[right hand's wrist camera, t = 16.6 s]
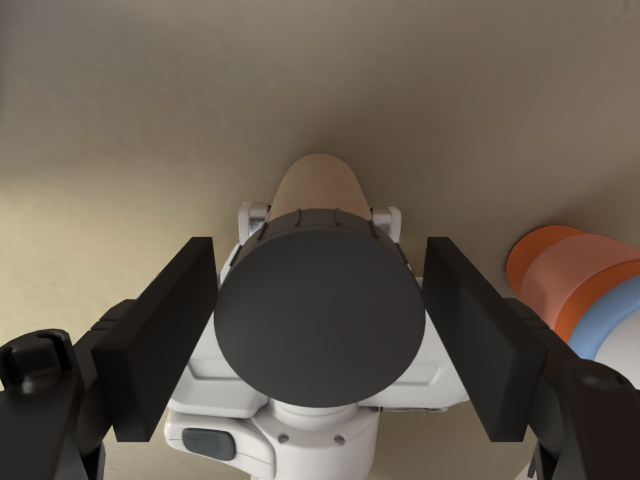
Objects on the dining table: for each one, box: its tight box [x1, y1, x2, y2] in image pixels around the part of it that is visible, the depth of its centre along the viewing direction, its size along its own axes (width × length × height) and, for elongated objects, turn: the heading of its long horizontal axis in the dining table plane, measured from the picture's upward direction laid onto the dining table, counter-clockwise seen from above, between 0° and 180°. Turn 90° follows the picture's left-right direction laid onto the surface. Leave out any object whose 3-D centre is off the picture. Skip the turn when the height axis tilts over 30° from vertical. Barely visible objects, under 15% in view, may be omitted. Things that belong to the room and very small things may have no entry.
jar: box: [264, 153, 377, 226], centre depth 18 cm, size 5×5×15 cm
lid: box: [214, 208, 426, 408], centre depth 11 cm, size 6×6×2 cm
